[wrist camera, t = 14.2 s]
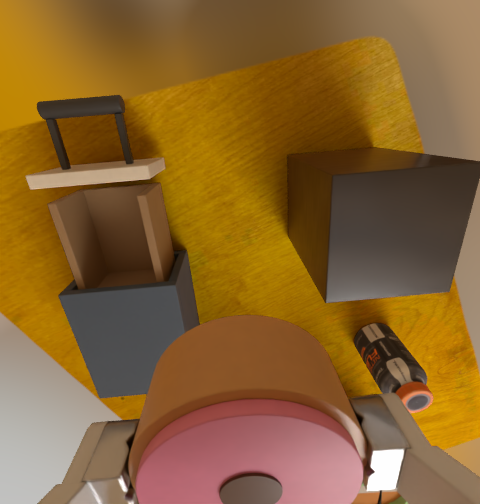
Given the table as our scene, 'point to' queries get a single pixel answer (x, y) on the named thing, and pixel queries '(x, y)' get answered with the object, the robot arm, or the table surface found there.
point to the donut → (247, 420)
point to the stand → (379, 220)
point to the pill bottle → (393, 366)
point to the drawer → (107, 207)
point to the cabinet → (130, 327)
